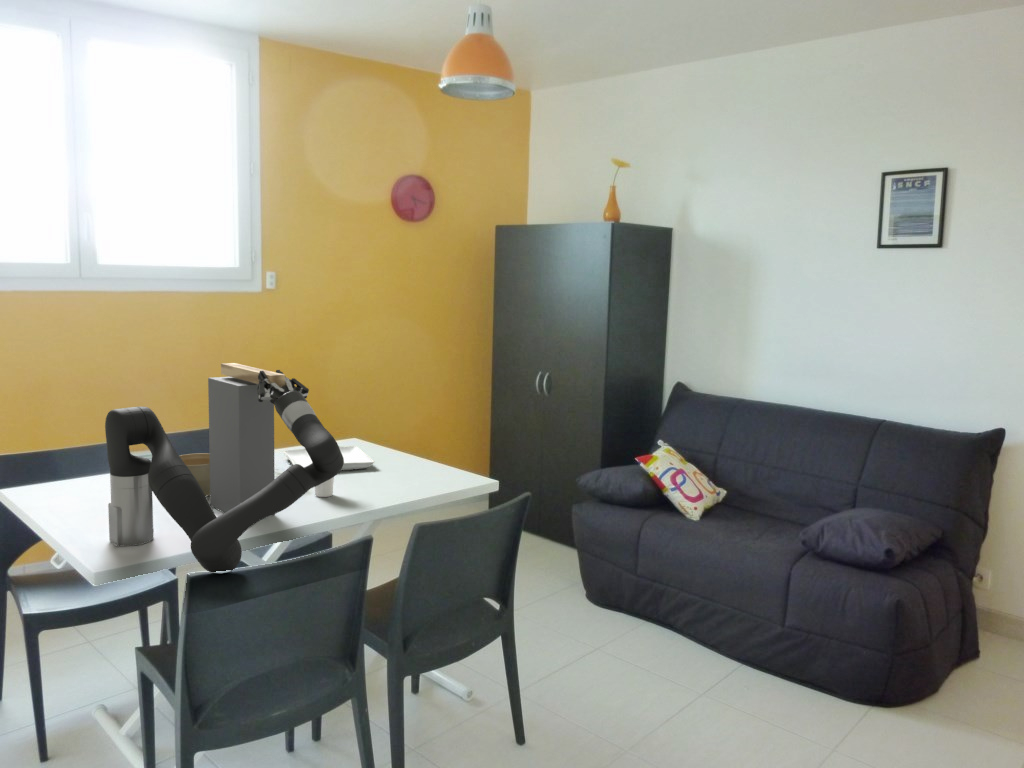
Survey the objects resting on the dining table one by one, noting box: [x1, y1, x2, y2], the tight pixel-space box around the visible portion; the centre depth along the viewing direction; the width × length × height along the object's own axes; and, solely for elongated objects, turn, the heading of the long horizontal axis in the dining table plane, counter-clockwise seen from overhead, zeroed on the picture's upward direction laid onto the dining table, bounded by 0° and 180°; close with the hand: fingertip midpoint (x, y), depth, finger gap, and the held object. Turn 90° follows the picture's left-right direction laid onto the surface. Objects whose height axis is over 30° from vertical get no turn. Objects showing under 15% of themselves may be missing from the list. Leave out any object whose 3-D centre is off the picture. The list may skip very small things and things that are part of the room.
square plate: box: [282, 445, 375, 472], centre depth 282 cm, size 27×27×4 cm
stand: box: [207, 376, 276, 517], centre depth 222 cm, size 10×20×37 cm, turn 43°
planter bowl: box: [179, 452, 210, 497], centre depth 238 cm, size 16×16×11 cm
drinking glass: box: [314, 476, 335, 498], centre depth 241 cm, size 7×7×15 cm
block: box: [220, 362, 286, 387], centre depth 214 cm, size 4×30×3 cm, turn 43°
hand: (269, 373), depth 207 cm, fingers closed on block, 4 cm apart
